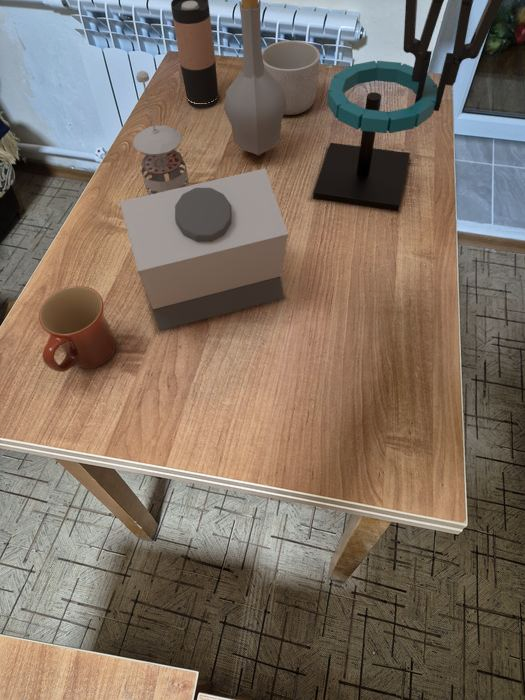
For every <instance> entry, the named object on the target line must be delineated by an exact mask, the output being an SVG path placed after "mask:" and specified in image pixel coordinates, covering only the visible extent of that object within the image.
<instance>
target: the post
mask: <svg viewBox="0 0 525 700" xmlns="http://www.w3.org/2000/svg"><path fill="white" fill-rule="evenodd" d="M381 101H382V95H381V93H379V92H375V91H374V92H373V91H372V92H369V93H367V94H366V99H365V107H364V108H365V109H367V110H376V111H380V108H381ZM376 133H377V132H369V131H361V137H360V144H359V145H353V144H352V145H351V144H345V143H344V144H343V143H337V142H330V143H329V146H328V148H327V151H326V154H325V157H324V160H323V163H322V166H321V169H320V172H319V174H318V178H317V181H316V183H315V186H314V189H313V192H312V199H314V200H321V201H325V202H333V203H339V204H347V205H352V206H359V207H365V208H373V209H379V210H386V211H393V212H399V211H400V206H401V201H402V197H403V191H404V187H405V181H406V176H407V171H408V166H409V161H410V155H411V152H405V151H399V150H389V149H383V148H376V147H374V146H375V139H376Z"/></svg>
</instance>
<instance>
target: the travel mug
mask: <svg viewBox="0 0 525 700" xmlns="http://www.w3.org/2000/svg"><path fill="white" fill-rule="evenodd" d="M209 4H210V3H209V0H171V2H170V8H171V14H172V21H173V26H174V27H173V28H174V34H175V40H176V46H177V53H178V59H179V65H180V71H181V75H182V80H183V81H182V82H183V85H184V90H185V95H186V100H187V103H188V105H189V106H191V107H193V108H196V109H207V108H210V107H212V106H215V105H216V104H217V103H218V101H219V89H218V88H219V87H218V76H217V75H218V74H217V63H216V54H215V46H214V37H213V30H212V29H213V28H212V21H211V12H210V5H209ZM217 96H218V97H217ZM187 98H188V99H189V100H190V101H192V102H195V103H207V104H194V103H191V102H190V101H188V99H187ZM216 98H217V99H216ZM215 99H216V100H215ZM213 100H214V101H213ZM211 101H213V102H211ZM208 102H210V103H208Z"/></svg>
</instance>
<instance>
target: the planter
mask: <svg viewBox="0 0 525 700" xmlns="http://www.w3.org/2000/svg"><path fill="white" fill-rule="evenodd" d="M262 57H263V64H264V69H265V70H266V71H267V72H268V73H269V74H270V75H271V76H272V77H273V78H274V79H275V80H276V81H277V82H278V83H279V84H280V85H281V86H282V87H283V91H284V96H285V100H286V104H287V105H286V109H285V112H284V115H283V116H295V115H299V114H302V113H304V112H307V111H308V110H309V109H310V108H311V107H312V106H313V104H314V102H315V99H316V96H317V90H318V83H319V74H320V73H319V71H320V61H321V53H320V51H319V49H318V48H317V47H316V46H315V45H313V44H311V43H308V42H305V41H302V40H281V41H277V42H274V43H271V44H269V45H267V46H266V47H265V48H263V50H262Z"/></svg>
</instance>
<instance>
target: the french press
mask: <svg viewBox="0 0 525 700" xmlns="http://www.w3.org/2000/svg"><path fill="white" fill-rule="evenodd" d="M136 81H137V82H138V83H142V85H143V88H144V92H145V97H146V102H147V105H148V110H149V113H150V119H151V123H152V125H150V126H148V127H145V128H144V129H142V130H141V131H139V132H138V133H137V134H136V135H135V136H134V138H133V140H132V145H133V148H134V149H135V150H136V151H138V152H139V153H141V154H142V155H145V156H144V157H143V158H142V160H141V167H142V168H141V176H142V179H143V182H144V186H145V191H146V195H151V194H155V193H159V192H164V191H168V190H173V189H177V188H181V187H186V186H190V180H189V175H188V169H187V164H186V163H185V161H184V159H183V156H182V154H181V153H180V152H178V151H177V150H176V149H178V147H179V146H180V145H181V142H182V135H181V133H180V131H179V130H177V129H176V128H174V127H172V126H168V125H164V124H163V125H155V122H154V119H153V113H152V109H151V104H150V100H149V95H148V91H147V87H146V83H147V82H148V81H150V76H149V73H148V72H147V71H145V70H140V71H138V72H137V73H136ZM181 165H183V166H181ZM181 171H182V172H181ZM145 172H146V173H145ZM144 173H145V174H144ZM165 175H168V180H166V177H165ZM149 176H150V177H149ZM148 177H149V178H148Z"/></svg>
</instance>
